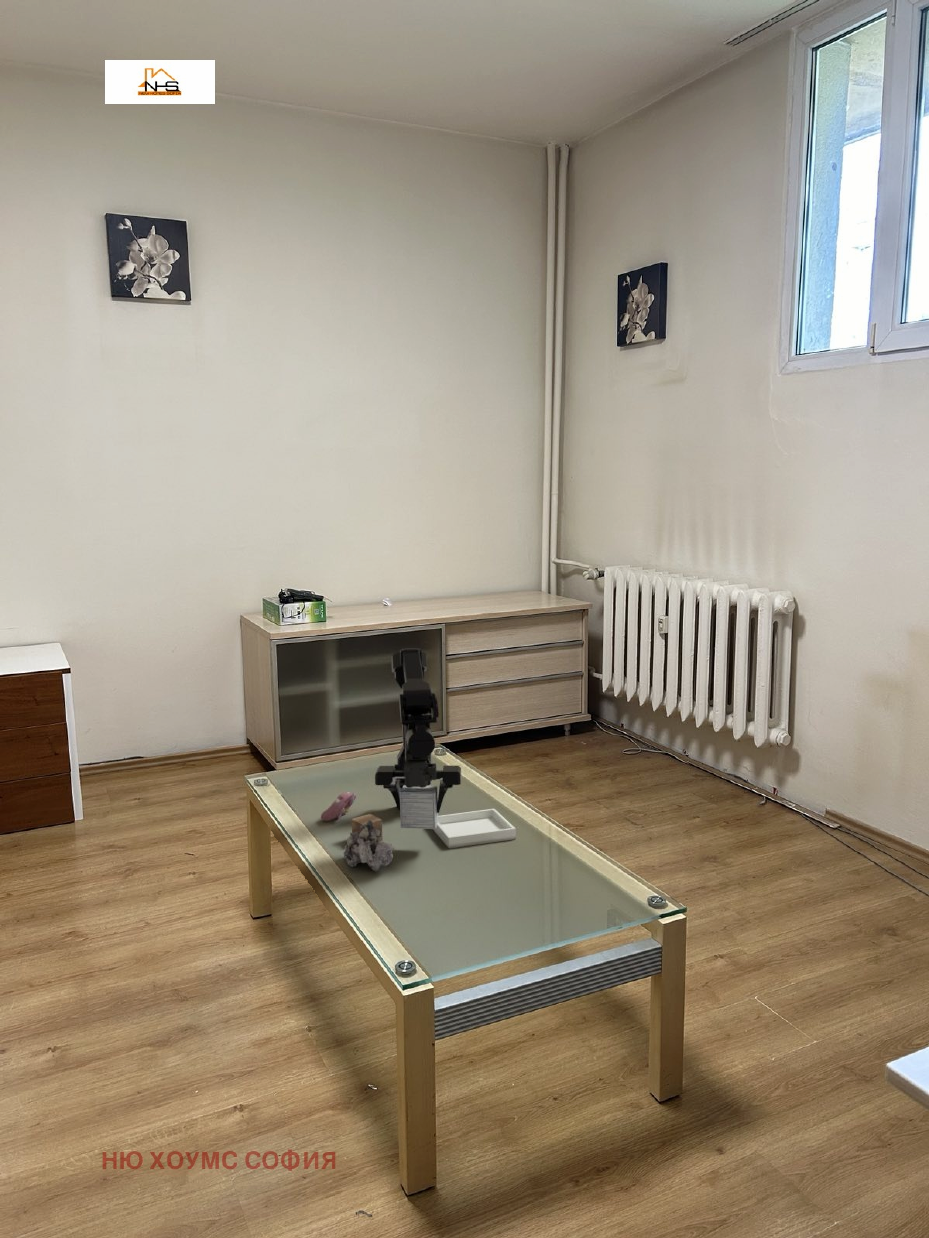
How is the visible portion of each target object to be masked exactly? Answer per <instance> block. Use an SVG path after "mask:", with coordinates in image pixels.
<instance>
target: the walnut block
mask: <svg viewBox="0 0 929 1238" xmlns="http://www.w3.org/2000/svg"><path fill="white" fill-rule="evenodd" d="M368 820H370V821H372V824H373V826H374V828H376V829H377V830H380V832H381V833H382V834H381V836H380V840H381V841H382V842H383V819H381V818H379V817H377V816H375V815H373V814H372V813H368V814H365V815H361V816H358V817H353V818H351V832H352V833H355V832H357V831H358V832H359V831H360V827H361V826H362V825H364V824H367V821H368Z"/></svg>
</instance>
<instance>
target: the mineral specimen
mask: <svg viewBox="0 0 929 1238" xmlns="http://www.w3.org/2000/svg"><path fill="white" fill-rule="evenodd" d="M381 834H382V835H383V832H382V833H381V832H380V830H377V829H376V828H374V826H373V824H372V821H370V820H368V821H367V824H364V825H362V826H361V827H360V831H359V832H358V831H357V832H355V833H352V831H351V832H349V835H350V836H348V838H347V839H346V845H345V846H344V852H343V855H344V856H343V859H344V860H345V861H346V863H347V865H349V866H350V867H351V868H353V867H356V866H357V865H358V864H359V863H362V864H364V863H366V864H367V865H368V867H369V868H370V869H371V870H372V871H373V872H376V873H377V872H378V871H379V869H380V868H381V867H387V866H388V865H389V864H391V862H392V861H393V857H394V855H393V850H395V848H396V847H395V846H394V845H393V843H390V842H387V841H386V842H385V841H383V840H382V841H381V840H380V836H381Z"/></svg>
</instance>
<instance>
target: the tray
mask: <svg viewBox="0 0 929 1238" xmlns="http://www.w3.org/2000/svg"><path fill="white" fill-rule="evenodd" d="M516 829H517V828H516V827H515V826H514V825H513V824H511V823H510V822H509V821H508V819H506V818H505V817H504V816H503V815H502V814H501V813H500V812H499V811H498V810H497V809H495V808H489V809H488V808H487V809H481V810H472V811H466V812H458V813H451V814H450V813H449V814H444V815H442V814H441V815H438V823H437V826H436V829H432V830H433V831H434V833H435V834H436V835H437V836H438V837H439V838H440V840H441V841H442V842H443V843H444V844H445V846H446V847H447V848H448V849H455V848H463V847H469V846H475V845H477V846H478V845H484V844H490V843H496V842H504V841H512V840H516V839H517V838H516V837H517V833H516V832H517V830H516Z"/></svg>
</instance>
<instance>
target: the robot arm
mask: <svg viewBox="0 0 929 1238" xmlns="http://www.w3.org/2000/svg"><path fill="white" fill-rule="evenodd" d="M427 655H428V654H427V653H426V652H423V651H422V649H421V648H418V647H417V648H416V647H415V648H413V647H412V648H411V647H410V648H408V647H407V648H402V649H400V650H399V651H398V652H395V653H394V654H392V655H391V673H394V679H395V681H396V683H397V684H398V686H399V688H400V690H401V691H400V694H399V695H398V697H399V698H398V699H399V704H398V705H399V716H400V724H401V727H402V729H401V731H402V746H401V748H400V750H399V752H398V753H397V754H396V764H395V763H394V765H379V766H378V767H377V768H376V771H375V773H374V774H375V775H374V784H375V785H376V786H382V787H383V789H387V790H388V791H389V792H390V794H391V795H392V797H393V801H394V802H395V804H396V807H397V810H398V813H399V814H400V791H401V789H402V787H403V786H404V785H405V786H406V787H408V788H411V787H421V788H423V787H426V786H431V784H432V781H436V780H439V789H438V794H437V797H438V803H437V813H438V814H439V813H440V812H441V807H442V804H443V801H444V797H445V795H446V793H447V791H448V790H449V789H453V787H454V786H461V784H462V783H461V782H462V768H461V767H460V765H443V767H442V770H437V764H436V763H432V754H433V752H434V750H435V747H436V740H435V737H434V735H433V732H432V729H431V726H432V725H431V724H435V723H436V724H437V723H438V722H437V718H439V716H440V714H439V713H440V712H439V705H438V704H439V703H438V697H436V694H435V692H432V687H431V684H430V683H428V682H427V681H425V680H424V679H425V672H427V670H428V657H427ZM375 785H374V786H375Z"/></svg>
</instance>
